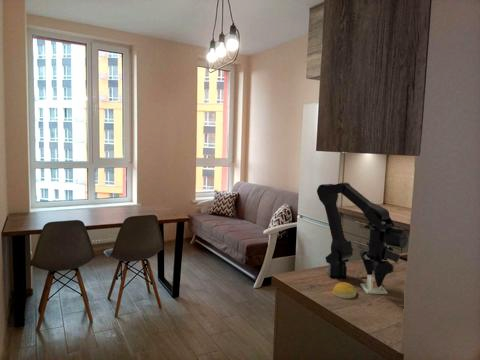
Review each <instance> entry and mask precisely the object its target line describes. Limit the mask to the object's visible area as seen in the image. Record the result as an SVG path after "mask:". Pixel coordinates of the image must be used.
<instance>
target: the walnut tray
mask: <svg viewBox="0 0 480 360" xmlns="http://www.w3.org/2000/svg"><path fill="white" fill-rule="evenodd" d="M357 279H358V280H359V281H360V283H362V284H367V275H358V276H357ZM383 285H384V284H383V282H382V284H381V286H382V287H383Z"/></svg>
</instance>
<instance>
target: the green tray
mask: <svg viewBox="0 0 480 360" xmlns="http://www.w3.org/2000/svg"><path fill="white" fill-rule="evenodd" d="M360 287H361V289H362V290H364V292H365V293H366V294H374V295H377V294H378V295H379V294H380V295H388V291H387V290H386V288H384V287H383V286H381V291H369V290H368V288H367V284H363V283H362V282H360Z"/></svg>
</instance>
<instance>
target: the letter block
mask: <svg viewBox="0 0 480 360" xmlns="http://www.w3.org/2000/svg"><path fill="white" fill-rule="evenodd" d="M366 276H367V288H368V290H369V291H381V287H377V284H376V281H375V277H374V274H372V275H366Z"/></svg>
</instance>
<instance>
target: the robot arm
mask: <svg viewBox="0 0 480 360" xmlns="http://www.w3.org/2000/svg"><path fill="white" fill-rule="evenodd" d="M316 194H317V196H318V200H319V201H320V203H322V204H323V205H322V206H324V209H325V213H326V217H327V218H326V219H327V222H328V226H329V227H328V228H329V230H330V236H331V239H332V241H331V244H330V253H329V254H328V255H327V256H325V261H326V264H328V272H326V274H327V275H328V277H329V279H332V280H333V279H335V280H337V279H338V280H339V279H340V280H346V279H347V272H348V267H347V265H346V264H347V263H348V262H349V260H350V259H351V258H352V256H353V251H354V248H353V245H352V241H351V240H347V239H346V237H345V234H344V231H343V230H344V229H343V227H342V223H341V222H342V221H341V217H340V213H339V209H338V205H337V202H338V199H339V194H341V195H343V196H344V197H346V198H347V200H349V201H350V202H351V203H352V204H354V205H355V207H357V208H358V209H359V210H360V211H361V212H362V214H363V216H364V218H365V219H366V220H367V221H368V223H367V224H366V225H364V229H369V231H368V232H369V233H368V234H369V235H368V241H367V242H366V246H367V249H366V248H362V249H361V250H360V251H359V257H360V259H361V261H362V264H363V267H364V269H365V272H366V274H367V275H374V277H375V281H376V284H377V287H381V284H382V283H383V282H384V280H385V277H386V276H387V275H388V274H391V273H394V265H393V264H392V263H391V262H390V261H392V262H394V263H395V264H397V263H398V262H399V260H400V258H401V254H400V253H398V252H397V251H395V250H394V247H395V248H399V249H404V248H406V247H407V245H408V240H409V238H408V234H407V232H406V229H405V228H401V227H400V228H399V227H396V225H395V223H394V221H393V220H392V218H391V216H390V212H389V210H388V209H387V208H385V207H383V206H381V205H379V204H376V203H374V202H371V201H370V200H369V199H368V198H366V197H365V196H364V195H363V194H362V193H360V192H359V191H358V190H357V189H355V188H354V187H353V186H352V185H351V184H350V183H349V182H345V181H344V182H338V183H325V184H319V185H318V187H317V189H316ZM388 260H390V261H388ZM367 275H366V276H367Z"/></svg>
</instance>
